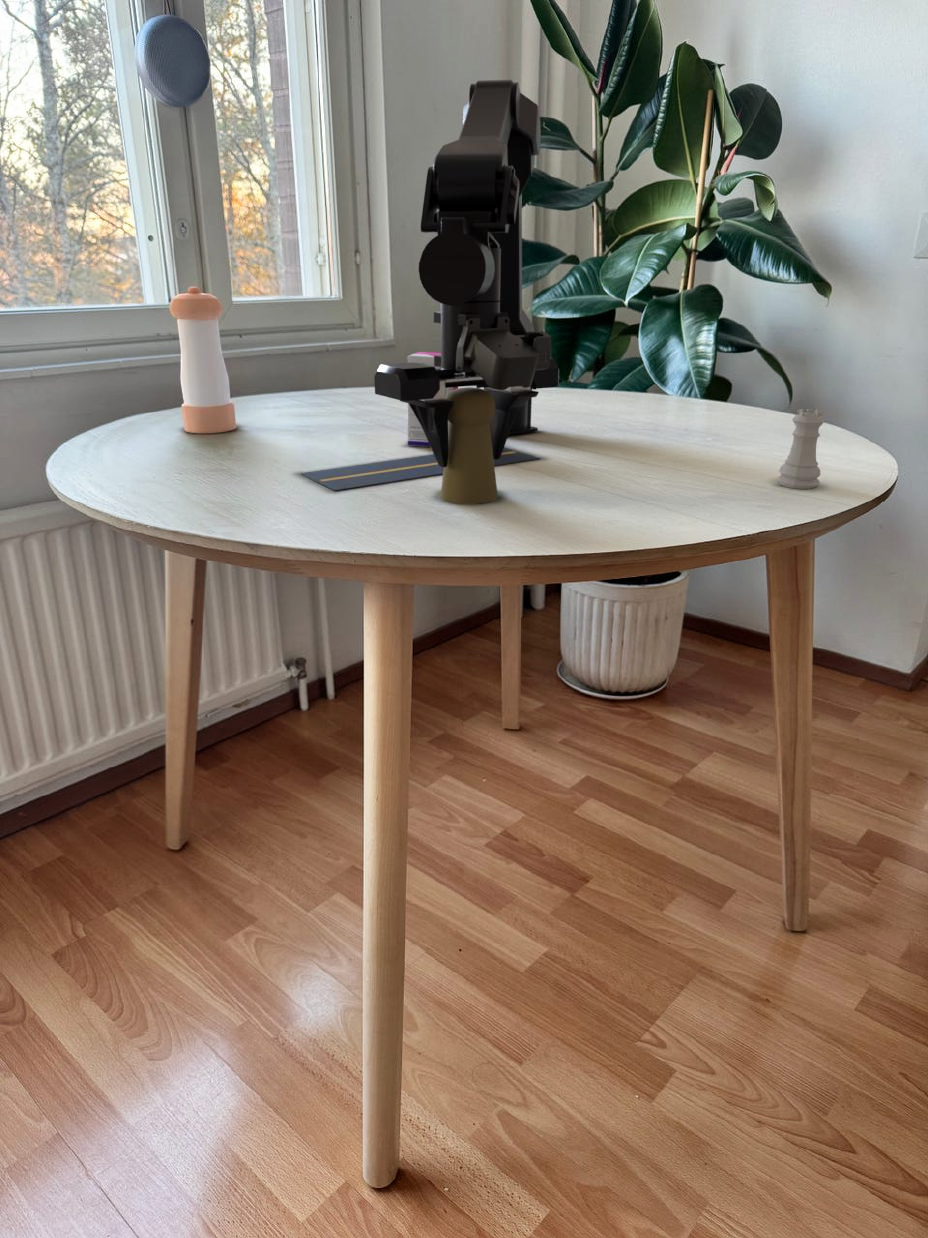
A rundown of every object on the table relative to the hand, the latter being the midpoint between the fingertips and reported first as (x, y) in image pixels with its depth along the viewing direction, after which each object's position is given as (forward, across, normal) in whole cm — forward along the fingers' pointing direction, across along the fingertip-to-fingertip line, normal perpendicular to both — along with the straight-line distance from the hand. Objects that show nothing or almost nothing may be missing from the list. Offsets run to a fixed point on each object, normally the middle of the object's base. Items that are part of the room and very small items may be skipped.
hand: (469, 462), depth 86 cm
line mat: (+3, +3, +14) cm, 15 cm away
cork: (+4, 0, 0) cm, 4 cm away
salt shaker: (+3, -11, +51) cm, 52 cm away
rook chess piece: (+4, +33, -16) cm, 37 cm away
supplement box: (+4, +11, +25) cm, 28 cm away
